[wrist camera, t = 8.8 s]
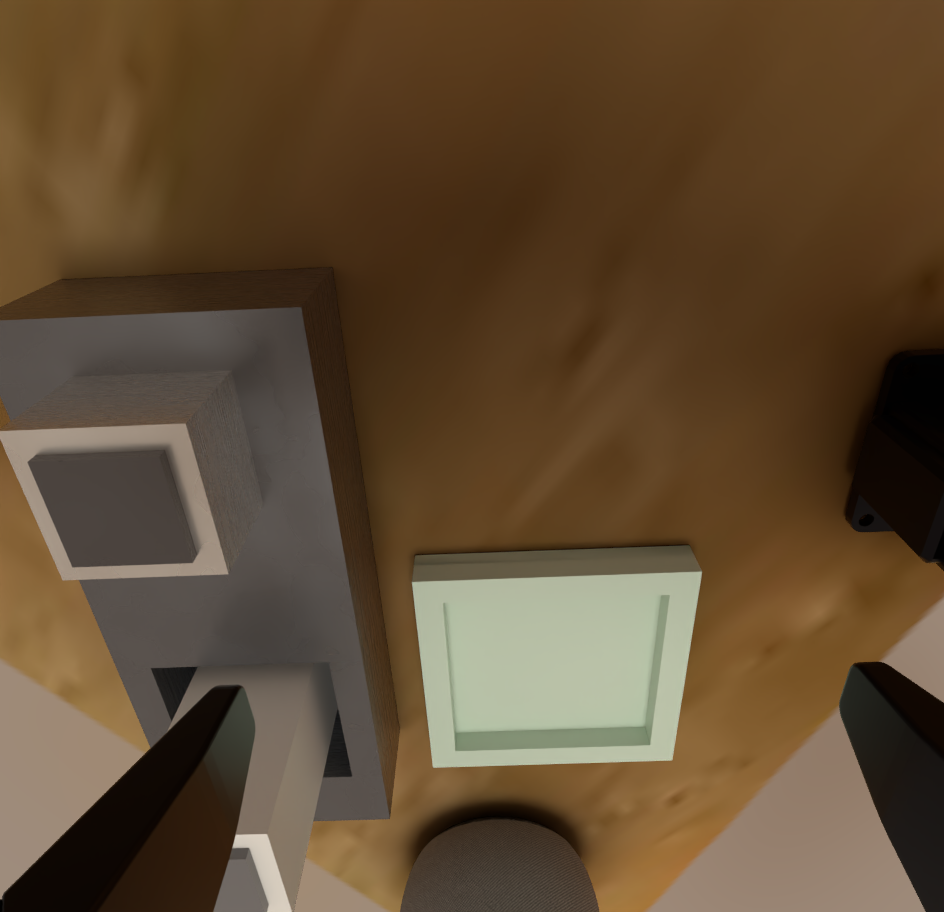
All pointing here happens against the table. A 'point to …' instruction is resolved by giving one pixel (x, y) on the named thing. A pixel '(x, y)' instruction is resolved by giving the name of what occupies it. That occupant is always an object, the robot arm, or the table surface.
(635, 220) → the table surface
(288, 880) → the plug
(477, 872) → the smart speaker
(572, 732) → the tray
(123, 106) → the table surface
